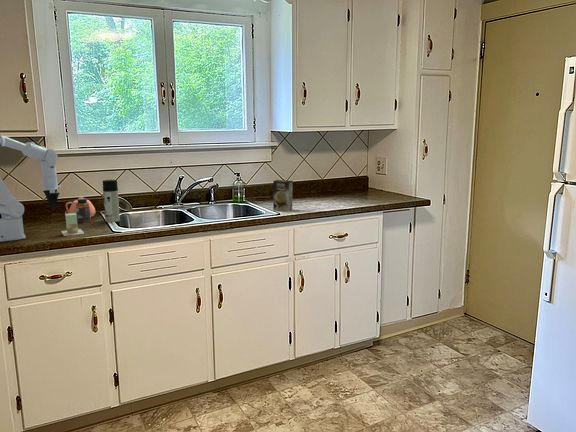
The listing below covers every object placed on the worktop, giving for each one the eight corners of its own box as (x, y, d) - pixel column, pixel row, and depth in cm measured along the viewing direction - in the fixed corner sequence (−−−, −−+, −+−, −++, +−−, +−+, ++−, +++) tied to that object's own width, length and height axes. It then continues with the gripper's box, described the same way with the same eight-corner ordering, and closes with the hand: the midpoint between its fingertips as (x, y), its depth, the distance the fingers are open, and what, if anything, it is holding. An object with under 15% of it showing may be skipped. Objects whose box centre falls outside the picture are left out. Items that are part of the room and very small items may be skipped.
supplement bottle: (92, 220, 234) (90, 197, 232) (88, 223, 228) (86, 199, 226) (80, 220, 234) (78, 197, 232) (75, 223, 228) (73, 199, 226)
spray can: (105, 220, 234) (101, 179, 230) (119, 219, 236) (116, 179, 232) (105, 223, 228) (102, 181, 224) (120, 222, 230) (117, 180, 226)
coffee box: (272, 210, 258) (272, 180, 255) (277, 208, 264) (277, 179, 261) (288, 211, 255) (288, 181, 252) (292, 209, 261) (292, 180, 258)
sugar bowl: (96, 219, 237) (94, 198, 235) (65, 221, 232) (63, 200, 230) (95, 214, 248) (94, 195, 246) (66, 216, 243) (64, 196, 241)
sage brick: (67, 224, 204) (66, 215, 203) (66, 222, 207) (65, 213, 207) (77, 223, 206) (76, 214, 205) (76, 221, 209) (75, 212, 209)
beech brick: (68, 233, 205) (67, 224, 204) (67, 231, 208) (66, 222, 207) (78, 232, 207) (77, 223, 206) (77, 230, 210) (76, 221, 209)
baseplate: (64, 236, 201) (63, 235, 201) (61, 232, 210) (61, 230, 210) (84, 234, 205) (84, 233, 205) (81, 230, 214) (80, 228, 214)
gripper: (61, 177, 205) (64, 208, 208) (57, 174, 217) (60, 203, 220) (43, 178, 201) (46, 210, 204) (40, 175, 214) (43, 205, 216)
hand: (52, 207), depth 212 cm, fingers open, 7 cm apart
